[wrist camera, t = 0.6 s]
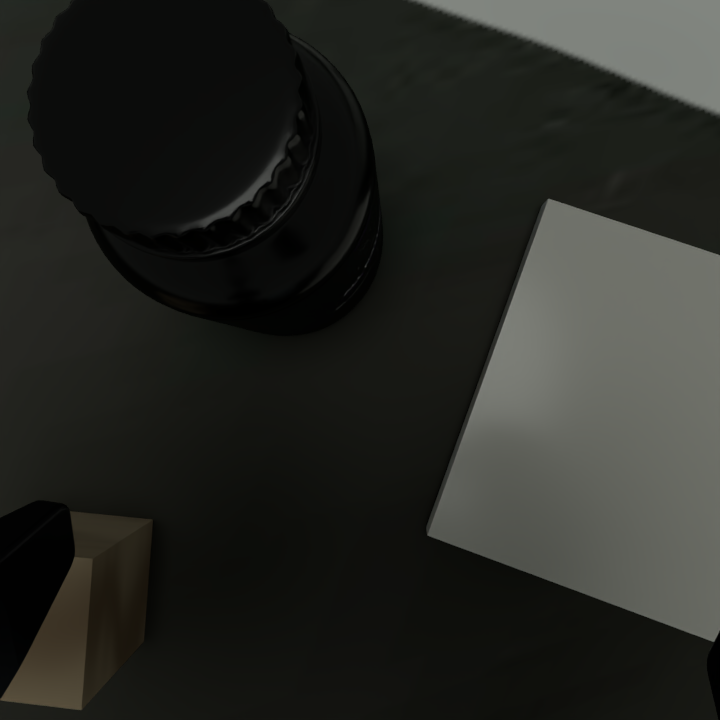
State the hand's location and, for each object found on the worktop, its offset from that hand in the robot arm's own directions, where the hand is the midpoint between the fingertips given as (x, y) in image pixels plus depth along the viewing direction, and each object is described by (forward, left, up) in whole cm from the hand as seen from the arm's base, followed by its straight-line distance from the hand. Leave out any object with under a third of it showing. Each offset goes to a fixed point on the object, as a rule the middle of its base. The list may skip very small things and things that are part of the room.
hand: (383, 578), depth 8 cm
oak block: (-8, +9, -14) cm, 18 cm away
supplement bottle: (+6, +6, -14) cm, 16 cm away
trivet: (+4, -8, -14) cm, 16 cm away
